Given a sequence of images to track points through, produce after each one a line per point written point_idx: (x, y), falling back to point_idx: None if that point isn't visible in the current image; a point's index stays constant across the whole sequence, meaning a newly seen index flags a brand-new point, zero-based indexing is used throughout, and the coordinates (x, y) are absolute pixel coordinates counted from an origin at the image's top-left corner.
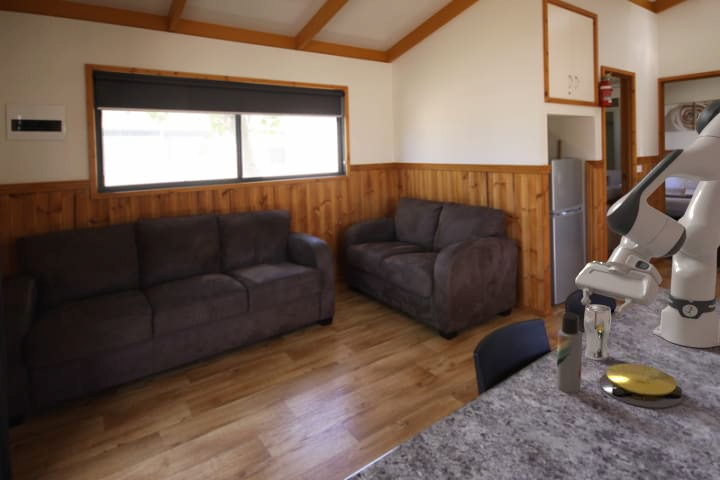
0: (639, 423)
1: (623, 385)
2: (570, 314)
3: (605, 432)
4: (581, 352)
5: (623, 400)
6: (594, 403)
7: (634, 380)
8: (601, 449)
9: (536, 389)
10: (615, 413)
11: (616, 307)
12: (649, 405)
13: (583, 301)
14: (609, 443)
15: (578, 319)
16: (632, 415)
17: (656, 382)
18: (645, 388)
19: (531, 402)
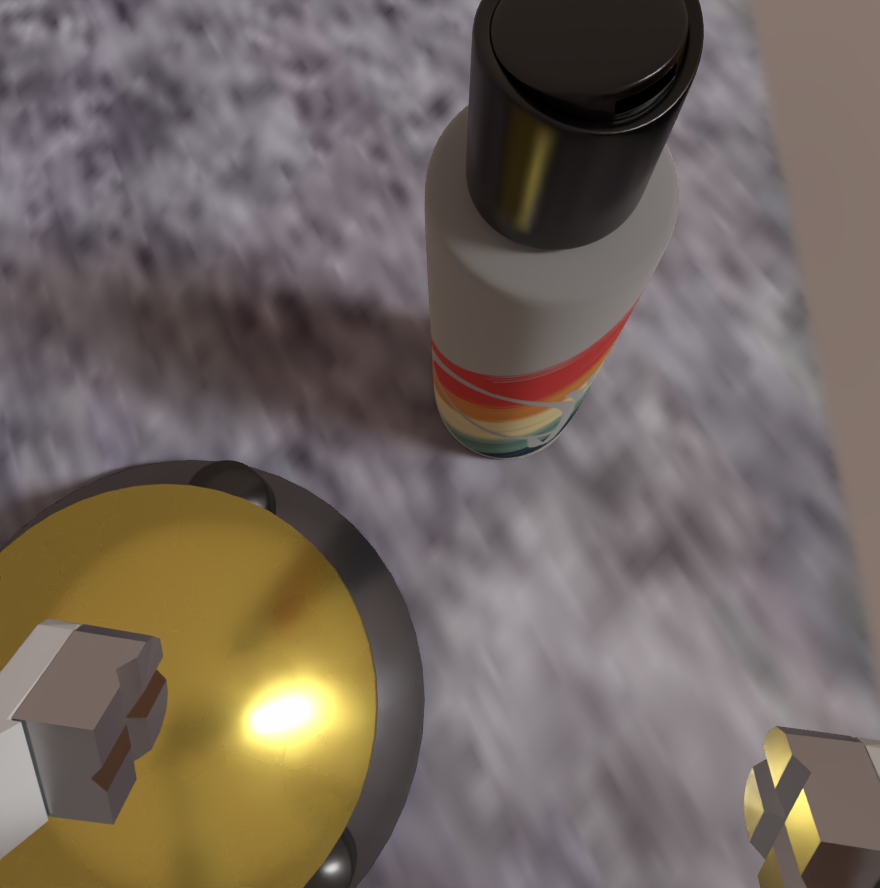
0: (56, 317)
1: (186, 491)
2: (606, 35)
3: (151, 133)
4: (430, 300)
5: (190, 461)
6: (307, 336)
7: (158, 623)
8: (114, 14)
9: None
10: (181, 320)
11: (104, 688)
12: (56, 509)
13: (843, 737)
14: (105, 72)
15: (473, 72)
16: (108, 365)
17: None
18: (64, 557)
19: None
